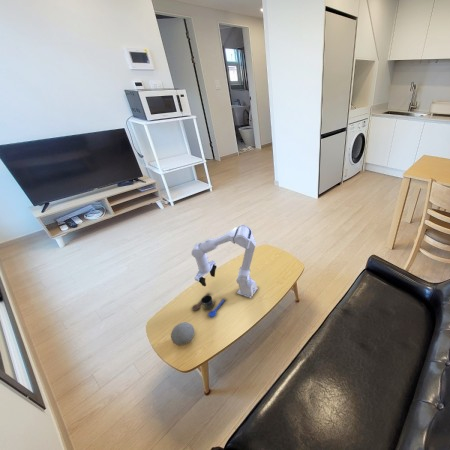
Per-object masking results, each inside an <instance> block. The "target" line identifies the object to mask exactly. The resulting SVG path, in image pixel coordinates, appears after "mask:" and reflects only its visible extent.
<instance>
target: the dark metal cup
mask: <svg viewBox="0 0 450 450" xmlns="http://www.w3.org/2000/svg"><path fill="white" fill-rule="evenodd" d="M206 295H207V294H206ZM206 295H204V296H203V297H202V298H201V300H200V301H201V302H202V304H201V306H202V308H203V309H204V310H205V311H210V310H212V309H213V308H214V306H215V303H214V300H213V297H212V295H210V294H209V295H207V296H206Z"/></svg>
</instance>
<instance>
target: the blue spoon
mask: <svg viewBox="0 0 450 450" xmlns="http://www.w3.org/2000/svg"><path fill="white" fill-rule="evenodd" d="M225 301H226V299H224V298H223V299H222V300H221V301H220V302H219V304H218V305H217V306H216V307H215V308H214V310H211V311H209V312H208V317H209V318H214V317H216V315H217V311H218V310H219V308H221V306H222V305H223V304H224V302H225Z"/></svg>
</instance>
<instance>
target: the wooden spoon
mask: <svg viewBox="0 0 450 450" xmlns="http://www.w3.org/2000/svg"><path fill="white" fill-rule="evenodd" d="M207 295H210V293H206V295H205V296H207ZM201 306H202V302H201V300H200V301H199V302H198V303H197V304H194V305H193V306H192V311H194V312H197V311H198V310H200V308H201Z"/></svg>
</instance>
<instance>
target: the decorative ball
mask: <svg viewBox="0 0 450 450" xmlns="http://www.w3.org/2000/svg"><path fill="white" fill-rule="evenodd" d="M194 336H195V328H194V326H193V325H192V323H190V322H185V321H184V322H180V323H178V324H176V325H174V327H173V329H172V330H171V333H170V339H171V341H172V343H173V344H175V345H176V346H186V345H188V344H189V343H190V342H191V341H192V340H193V338H194Z"/></svg>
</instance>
